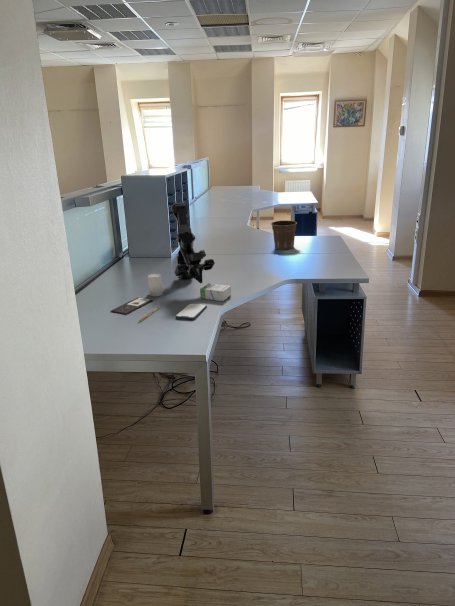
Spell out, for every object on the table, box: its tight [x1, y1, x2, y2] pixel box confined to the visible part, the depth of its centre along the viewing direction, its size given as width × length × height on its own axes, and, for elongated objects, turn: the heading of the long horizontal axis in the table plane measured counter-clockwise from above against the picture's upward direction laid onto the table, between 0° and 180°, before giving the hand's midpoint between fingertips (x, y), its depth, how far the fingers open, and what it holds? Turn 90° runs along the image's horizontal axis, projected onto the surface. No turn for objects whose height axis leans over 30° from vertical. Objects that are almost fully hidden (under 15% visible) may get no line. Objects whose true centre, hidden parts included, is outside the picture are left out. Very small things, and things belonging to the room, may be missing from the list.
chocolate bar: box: [110, 297, 153, 316], centre depth 199 cm, size 9×1×18 cm
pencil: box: [137, 306, 161, 324], centre depth 188 cm, size 1×1×18 cm
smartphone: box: [174, 303, 208, 321], centre depth 188 cm, size 9×2×16 cm
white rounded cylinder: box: [147, 273, 164, 297], centre depth 212 cm, size 6×6×9 cm
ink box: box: [199, 283, 232, 302], centre depth 204 cm, size 8×5×12 cm
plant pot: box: [270, 220, 298, 251], centre depth 284 cm, size 16×16×16 cm
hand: (201, 282), depth 204 cm, fingers closed
